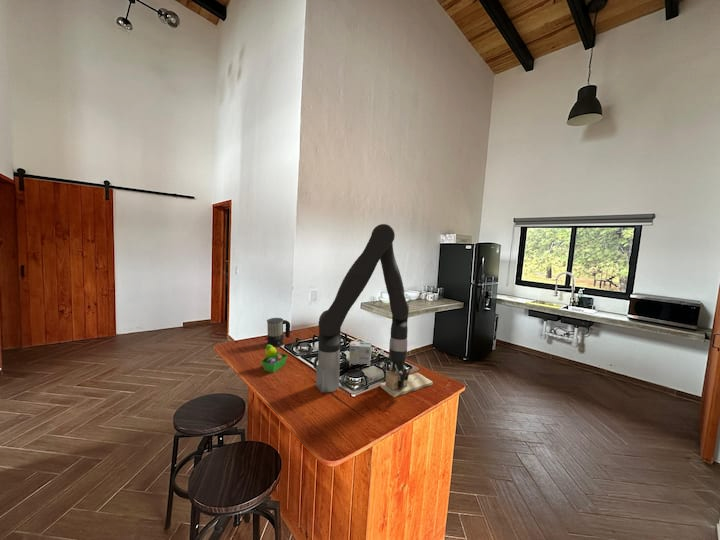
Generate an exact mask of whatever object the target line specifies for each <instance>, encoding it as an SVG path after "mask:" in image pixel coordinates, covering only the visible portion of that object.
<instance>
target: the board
mask: <svg viewBox="0 0 720 540" xmlns="http://www.w3.org/2000/svg"><path fill="white" fill-rule="evenodd" d="M433 384H434V382H433V381H432V380H430V379H429V378H427V377H425V376H424V375H422V374H421V373H419V372H415V373H411V374H409V376H408V383H407V387H404V388H401V389H397V390H394V391H392V390H391V389H389V388H388V387H387V386H385V385H386V381H384V382H381V383H379V387H380V388H381V389H382V390H384V391H385V392H386V393H388V394H389V395H390V396H391V397H393V398H397V397H399V396H402V395H406V394H409V393H412V392H415V391H418V390H420V389H423V388H426V387H427V388H428V387H429V386H432V385H433Z"/></svg>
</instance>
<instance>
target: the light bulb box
mask: <svg viewBox="0 0 720 540" xmlns="http://www.w3.org/2000/svg"><path fill="white" fill-rule="evenodd" d="M348 358H349V361H348V365H349V366H351V364H355V363H356V364H367V365H368V366H370V367H371V362H370V361H372V359H371V358H372V342H371V341H358V340H356V341H354V340H351V341H350V344H349V357H348Z"/></svg>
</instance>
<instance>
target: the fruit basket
mask: <svg viewBox="0 0 720 540" xmlns="http://www.w3.org/2000/svg"><path fill="white" fill-rule="evenodd" d="M276 348H277V347H273V346H272V345H270V344H269V345H267V344H266V346H265V353H264V354H265V355H264V356H265V358H263V359H261V361H260V362H261V363H262V367H263V370H264V371H265V372H270V373H274V372H277V371H278V370H279V369H281V368H282V367H284V366H285V365H286V362H287V361H286V360H287V359H288V354H285V353H282V352H278V350H277V349H276Z"/></svg>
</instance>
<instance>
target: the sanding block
mask: <svg viewBox="0 0 720 540" xmlns="http://www.w3.org/2000/svg"><path fill="white" fill-rule="evenodd" d="M399 372H402V371H399ZM401 377H402V374H401ZM398 380H399V379H398V375H397V373H396V370H393V371H386V373H385V382H386V385H385V386H387V387H388V388H389V389H391V390H392V391H394V390H397V389H399V388H398ZM407 383H408V380H405V381H404V385H403V388H404V387H407Z"/></svg>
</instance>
